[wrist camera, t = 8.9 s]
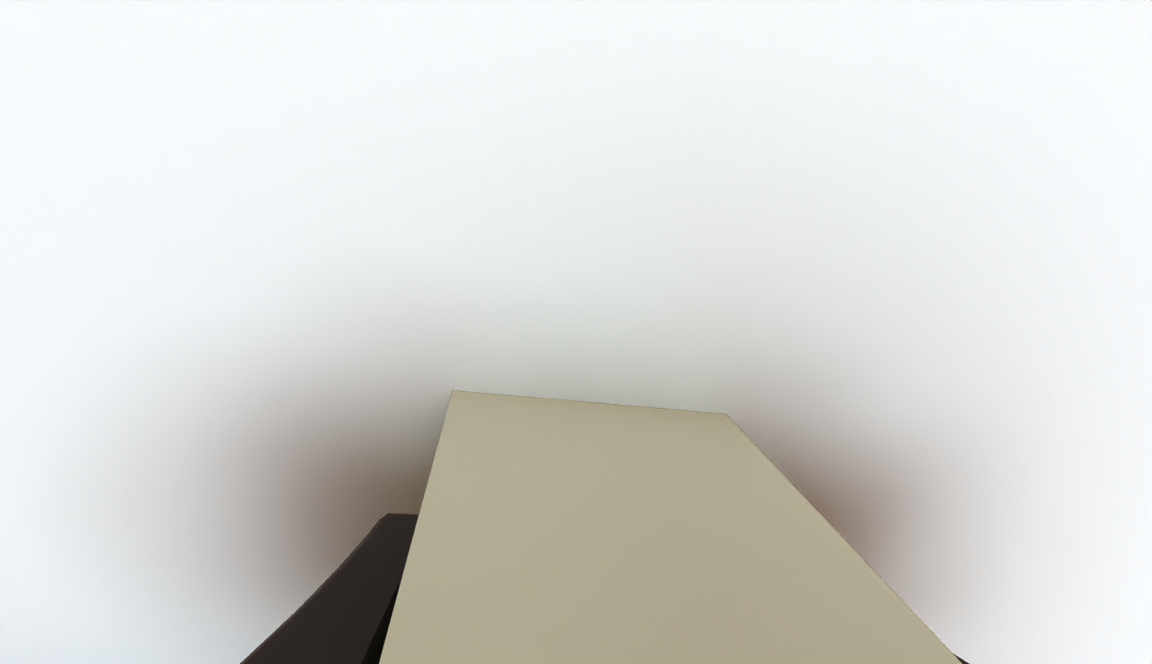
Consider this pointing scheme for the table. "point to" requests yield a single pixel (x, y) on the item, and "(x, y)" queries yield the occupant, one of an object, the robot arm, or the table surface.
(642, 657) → the sage block
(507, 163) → the table surface
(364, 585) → the robot arm
